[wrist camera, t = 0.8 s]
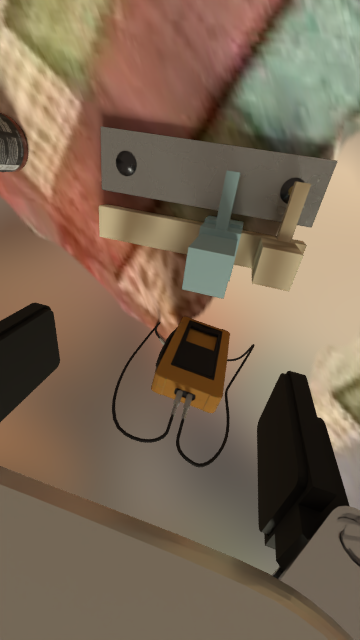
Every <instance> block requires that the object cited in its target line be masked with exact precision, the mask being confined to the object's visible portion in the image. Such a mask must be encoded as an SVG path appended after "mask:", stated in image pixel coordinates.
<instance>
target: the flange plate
mask: <svg viewBox="0 0 360 640" xmlns="http://www.w3.org/2000/svg"><path fill="white" fill-rule="evenodd" d="M336 164H337V161H335V160H328V159H321V158H315V157H308V156H301V155H294V154H287V153H280V152H273V151H266V150H259V149H253V148H246V147H239V146H232V145H225V144H218V143H211V142H204V141H197V140H191V139H184V138H177V137H170V136H163V135H156V134H149V133H142V132H135V131H129V130H122V129H115V128H108V127H101V168H102V190H107V191H113V192H118V193H124V194H129V195H135V196H140V197H146V198H151V199H157V200H162V201H168V202H174V203H179V204H185V205H190V206H196V207H201V208H207V209H212V210H218V211H219V206H220V201H221V196H222V191H223V186H224V181H225V176H226V171H233V172H240V178H239V182H238V186H237V191H236V195H235V200H234V204H233V208H232V213H234V214H240V215H245V216H251V217H256V218H262V219H267V220H273V221H278V222H282V219H283V216H284V213H285V210H286V207H287V204H288V201H289V198H290V196H289V194H288V190H289V188H290V187H292V186H294V183H295V182H302V183H309V184H311V187H310V189H309V192H308V195H307V198H306V200H305V203H304V206H303V209H302V212H301V214H300V217H299V220H298V223H297V225H300V226H306V227H312V225H313V222H314V220H315V217H316V215H317V212H318V210H319V207H320V204H321V202H322V199H323V197H324V194H325V192H326V189H327V187H328V184H329V181H330V179H331V176H332V174H333V171H334V169H335V166H336Z"/></svg>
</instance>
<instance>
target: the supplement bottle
mask: <svg viewBox="0 0 360 640" xmlns="http://www.w3.org/2000/svg"><path fill="white" fill-rule="evenodd" d="M27 158H28V145H27V142H26V139H25V136H24V134H23V132H22V130H21V129H20V127H19V126H18V125H17V123H16V122H15V121H14V120H13V119H11V118H10V117H8V116H7V115H5V114H2V113H0V172H13V171H19V170H20V169H22V168H23V167H24V166H25V164H26V162H27Z"/></svg>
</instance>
